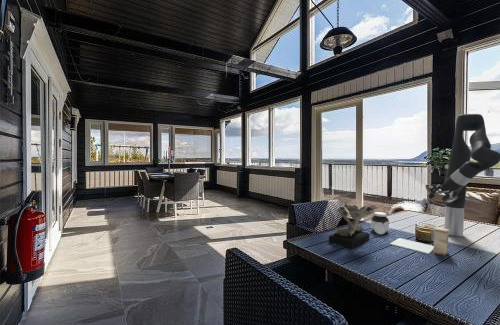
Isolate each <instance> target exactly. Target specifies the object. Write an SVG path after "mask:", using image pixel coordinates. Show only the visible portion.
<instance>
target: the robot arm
mask: <svg viewBox="0 0 500 325" xmlns="http://www.w3.org/2000/svg"><path fill="white" fill-rule="evenodd" d="M454 128H455V130H454V135H453V136H454V137H453V142H452V146H451V151H450V155H449V163H448V167H447V170H446V175H445V178H444V182H443V183H442V184H440V183H436V184H435V185H434V186H432V187H431V188H430V189H429V191H430V193H429V194H428V196H427V197H428V198H429V200H432V199H433V198H434V197H435V196H437V195H442V194H444V195H443V197H441V200H442V201H443V202H445V210H444V211H445V212H444V228H443V229H449V236H451V237H463V236H464V223H465V206H466V205H465V204H466V196H467V184H468V183H470V182H471V180H473V179H474V178H475V177H476V176H477V175H478V174H480V173H482V172H484V171H486V170H489V169H491V168H493V167H495V166H496V165H497V164H499V162H500V152H499V151H496V150H493V149H491V148H492V144H491V141H490V140H489V138H488V136H487V132H486V131H487V130H486V124H485V119H484V116H483V115H482V114H480V113H462V114H459V115H458V116H457V118H456V122H455V127H454ZM464 132H473V133H472V134H471V135H470V137H469V144H470V147H471V149H470V147H469V146H468V145H469V144H467V142H466V140H465V139H464V136H463V133H464ZM471 159H472V160H474V161H471ZM452 197H453V199H452ZM450 198H451V199H450ZM449 199H450V200H449Z"/></svg>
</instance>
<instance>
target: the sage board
mask: <svg viewBox="0 0 500 325" xmlns="http://www.w3.org/2000/svg"><path fill="white" fill-rule="evenodd" d="M389 245H391V246H394V247H399V248H403V249H407V250H411V251H414V252H417V253H418V252H419V253H422V254H426V255H430V254H431V253H432V252H433V250H434V245H432V244H426V243H423V242H417V241H413V240H409V239H405V238H401V237H399V238H397V239H395V240H393V241H392V242H390V243H389Z"/></svg>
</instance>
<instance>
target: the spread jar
mask: <svg viewBox="0 0 500 325" xmlns="http://www.w3.org/2000/svg"><path fill="white" fill-rule="evenodd" d="M373 214H374V215H372V217H371V219H370V227H371V230H372V231H374V232H375V233H376V234H378V235H384V234H385V233H387V232H388V231H389V229H390V220H389V218H388V216H387V213H386V212H381V211H374V213H373Z"/></svg>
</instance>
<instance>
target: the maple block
mask: <svg viewBox="0 0 500 325" xmlns="http://www.w3.org/2000/svg"><path fill="white" fill-rule="evenodd" d="M449 236H450V235H449V229H444V228H443V227H438V226H437V227H435V228H434V229H433V246H434V250H433V251H432V252H433V254H438V255H441V254H442V256H445V255H446V256H447V254H448V253H449Z"/></svg>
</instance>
